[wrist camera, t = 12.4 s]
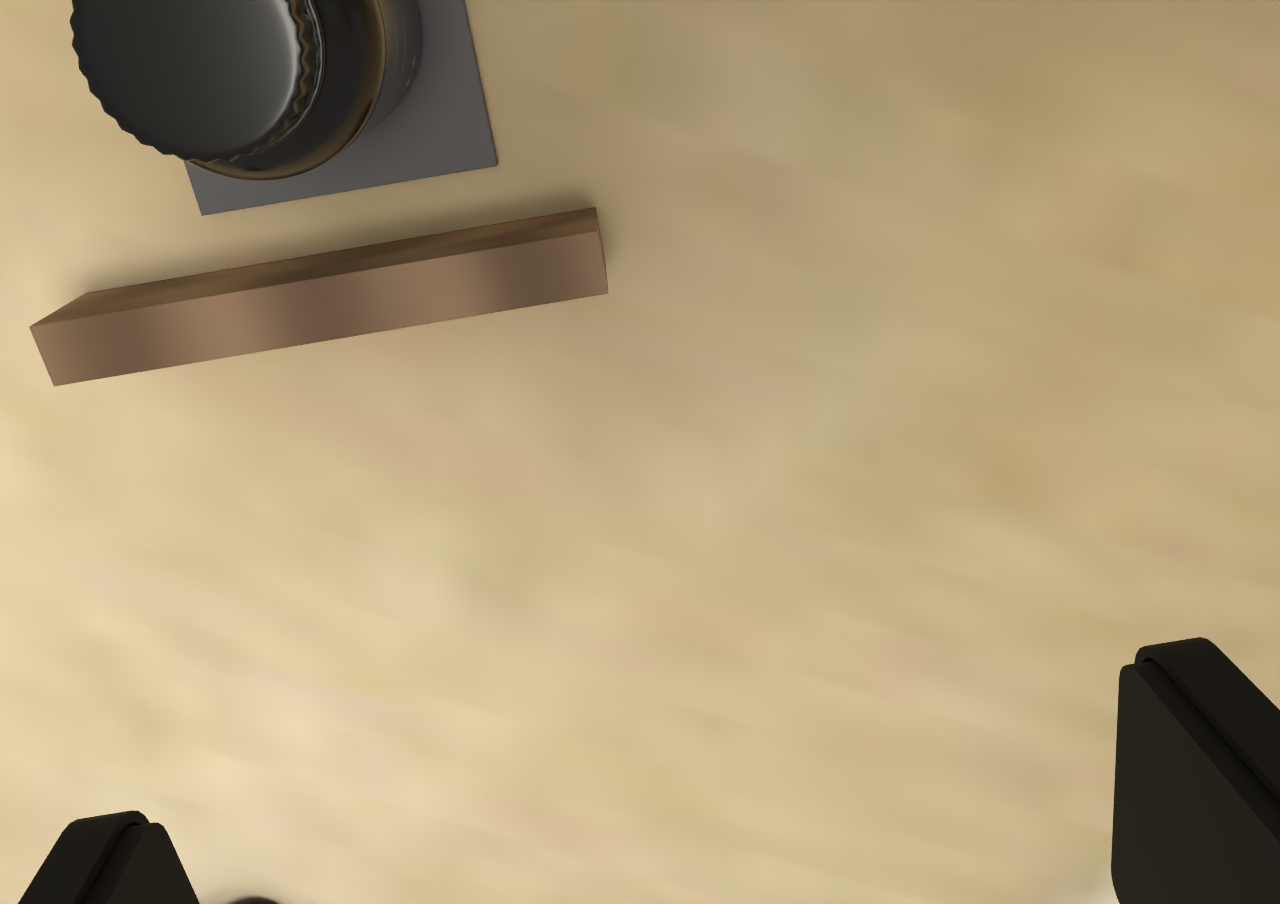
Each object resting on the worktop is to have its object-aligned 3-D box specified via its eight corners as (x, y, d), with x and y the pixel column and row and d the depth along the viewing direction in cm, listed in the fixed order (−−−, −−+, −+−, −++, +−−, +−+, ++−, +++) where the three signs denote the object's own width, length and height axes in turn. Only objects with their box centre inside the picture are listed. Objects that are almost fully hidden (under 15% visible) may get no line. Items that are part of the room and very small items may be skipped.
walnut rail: (595, 207, 36) (597, 231, 32) (605, 263, 36) (608, 293, 33) (85, 293, 36) (29, 326, 32) (106, 347, 37) (53, 386, 33)
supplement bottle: (176, 80, 33) (-27, 120, 22) (244, -141, 30) (54, -222, 19) (382, 176, 34) (290, 260, 23) (461, -27, 32) (400, -41, 21)
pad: (427, -177, 31) (424, -181, 30) (498, 163, 35) (496, 165, 34) (99, -121, 31) (90, -122, 30) (207, 212, 35) (201, 215, 34)
